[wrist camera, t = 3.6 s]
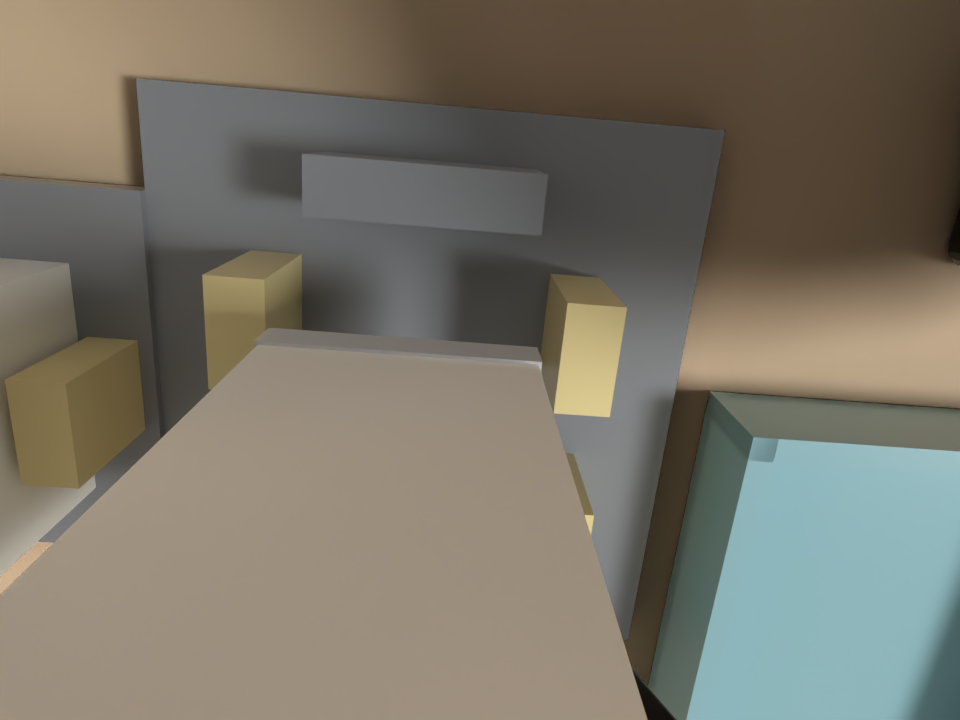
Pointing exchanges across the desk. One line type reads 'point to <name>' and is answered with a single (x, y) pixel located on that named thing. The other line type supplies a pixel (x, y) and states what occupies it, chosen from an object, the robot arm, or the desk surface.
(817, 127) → the desk surface
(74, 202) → the fuse block
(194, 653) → the block
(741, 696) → the tray
